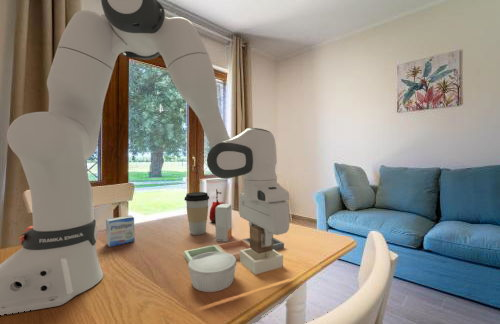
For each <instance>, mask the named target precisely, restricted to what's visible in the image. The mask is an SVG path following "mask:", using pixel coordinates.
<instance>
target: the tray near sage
mask: <svg viewBox="0 0 500 324" xmlns="http://www.w3.org/2000/svg"><path fill="white" fill-rule="evenodd" d="M208 252H223V251H222V250H221V249H219V248H218V247H217V246H216V244H212V245H206V246H202V247H198V248H197V247H196V248H194V249H193V248H192V249H187V250H184V251H183V256H184V259H185V260H186V262H187V263H189V261H190V260H191V259H192V258H193V257H195V256H197V255H200V254H203V253H208Z"/></svg>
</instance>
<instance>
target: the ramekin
mask: <svg viewBox="0 0 500 324" xmlns="http://www.w3.org/2000/svg"><path fill="white" fill-rule="evenodd" d="M187 263H188V262H187ZM236 266H237V260H236V258H235V257H234V256H233V255H231V254H229V253H225V252H208V253H203V254H200V255H197V256H195V257H193V258H192V259H191V260H190V261H189V263H188V266H187V267H188V268H187V270H188V271H189V277H190V281H191V285H192V287H193V288H194V289H196V290H197V291H200V292H203V293H204V292H205V293H206V292H207V293H211V292H213V293H214V292H219V291H223V290H225V289H227V288H229V286H231V285H232V284H233V282H234V280H235V279H234V278H235V272H236Z"/></svg>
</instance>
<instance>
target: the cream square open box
mask: <svg viewBox="0 0 500 324" xmlns="http://www.w3.org/2000/svg"><path fill="white" fill-rule="evenodd" d="M239 262H240V263H241V264H242V265H243V266H244V267H246V269H247V270H249V271H250V272H251V273H252V274H254V275H255V276H256V275H259V274H262V273H265V272H270V271H274V270H276V269H280V268H284V255H283V254H281V253H280V252H279V251H277V250H274V249H273V250H272V251H268V252H264V253H260V254H258V253H257V252H255V251H254V250H252V249H251V248H249V249H244V250H240V259H239Z"/></svg>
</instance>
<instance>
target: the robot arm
mask: <svg viewBox="0 0 500 324" xmlns="http://www.w3.org/2000/svg"><path fill="white" fill-rule="evenodd" d="M100 2H101V7H102V10H103V13H104V14H103V13H102V14H100V13H97V12H95V11H91V10H85V9H84V10H79V11H77V12H75V13H74V14H73V15H72V16H71V19H70V20H69V21H68V23H67V25H66V27H65V29H64V31H63V32H62V35H61V37H60V39H59V41H58V43H57V44H58V45H57V48H56V51H55V54H54V57H53V61H52V63H51V66H50V70H49V72H48V76H47V79H46V86H47V91H48V111H35V112H34V111H33V112H28V113H24V114H22V115H20V116H18V117H16V118H15V119H14V120H13V121H12V122H11V123H10V124H9V127H8V129H7V132H6V141H7V143H8V146H9V148H10V149H11V151H12V152H13V154H15V155H16V156H17V157H18V159H19V161H20V163H21V166H22V169H23V172H24V174H25V179H26V180H27V181H26V182H27V185H28V187H29V188H28V189H29V192H30V197H31V211H32V214H31V215H32V225H30V226H28V227H27V228H25V229H24V231H23V233H22V234H21V235H20V237H19V244H21V246H22V247H21V248H20V249H18V250H17V251H15V252H14V253H13V254H12V255H10V256H8V257H7V258H6V259H5V260H4V261H3V262H1V263H0V315H1V316H5V315H4V314H7V315H13V314H19V313H24V311H25V312H29V311H30V310H31V311H35V310H41V309H46V308H53V307H59V306H62V305H64V304H65V303H67V302H69V301H70V300H72V299H73V298H74V297H76V296H77V295H80V294H81V293H82V294H83V293H84V292H86V291H88V290H89V289H91V288H94V286H95V285H97V284H98V283H99V282H100V281H101V280H103V277H104V272H103V270H102V268H101V264H100V260H99V258H98V252H97V246H96V243H97V240H98V235H97V234H98V230H97V229H98V227H97V223H96V219H94V197H93V196H94V195H93V194H94V193H93V186H92V185H91V182H90V178H89V175H88V170H87V166H86V162H85V161H87V160H89V159H90V158H91V157H92V156H94V153H96V151H97V149H98V144H99V141H98V140H99V135H100V130H101V123H102V118H103V111H104V110H103V109H104V103H105V100H106V99H105V98H106V94H107V92H108V89H109V85H110V82H111V79H112V76H113V71H114V69H115V65H116V61H117V59H118V56H119V55H120V54H121V55H123V56H124V57H126V58H128V59H129V58H135V59H139V60H149V61H150V60H155V59H156V58H158V57H160V56H161V58H162V59H163V61H164V64H165V67H166V69H167V72H168V75H169V77H170V79H171V81H172V83H173V85H174V87H175V88H176V90H177V92H178V93H179V94H180V96H181V98H182V99H183V100H184V101H185V103H187V105H188V107H190V108H191V110H192V111H193V112H194V114H195V115H196V117H197V118H198V120H199V122H200V124H201V127H202V129H203V132H204V134H205V137H206V140H207V142H208V144H209V150H208V153H207V156H206V164H207V168H208V170H209V171H210V172H211V173H212V174H213V175H214V176H216V177H217V178H219V179H223V180H229V179H233V178H236V177H240V176H242V178H243V188H242V190H241V193H240V195H239V199H238V200H239V202H238V213H239V217H240V218H242V219H243V220H246V221H248V226H249V227H250V226H253V225H257V226H259V227H261V228H263V229H264V232H265V233H266V234H265V238H263V244H264V245H265V246H270V245H271V244H272V237H273V238H274V235H275V236H280V235H284V234H287V233H288V231H289V230H290V206H289V203H288V201H289V200H290V193H289V191H288V190H287V189H286V188H284V187H283V186H282V185H281V184H279V183H278V177H277V174H276V167H277V161H278V160H277V158H278V157H277V146H276V145H277V144H276V138H275V136H274V133H272V132H271V131H269V130H267V129H263V128H258V127H247V128H246V129H245V130H244V131H242V132H241V133H239V134H237V135H235V136H234V137H230V136H229V133H228V131H227V128H226V125H225V122H224V119H223V118H222V115H221V111H220V108H219V100H218V88H217V87H218V86H217V85H218V84H217V80H216V74H215V69H214V67H213V63H212V60H211V57H210V55H209V53H208V49H207V48H206V45H205V43H204V42H203V39H202V38H201V36H200V34H199V32H198V31H197V29H196V27H195V26H194V24H193V23H192V22H191V21H190V20H189V19H187V18H184V17H181V16H180V17H179V16H175V17H167V16H166V15H165V8H164V6H163V5H162V3H160V2H159V1H158V0H100ZM18 312H19V313H18ZM12 313H13V314H12Z"/></svg>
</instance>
